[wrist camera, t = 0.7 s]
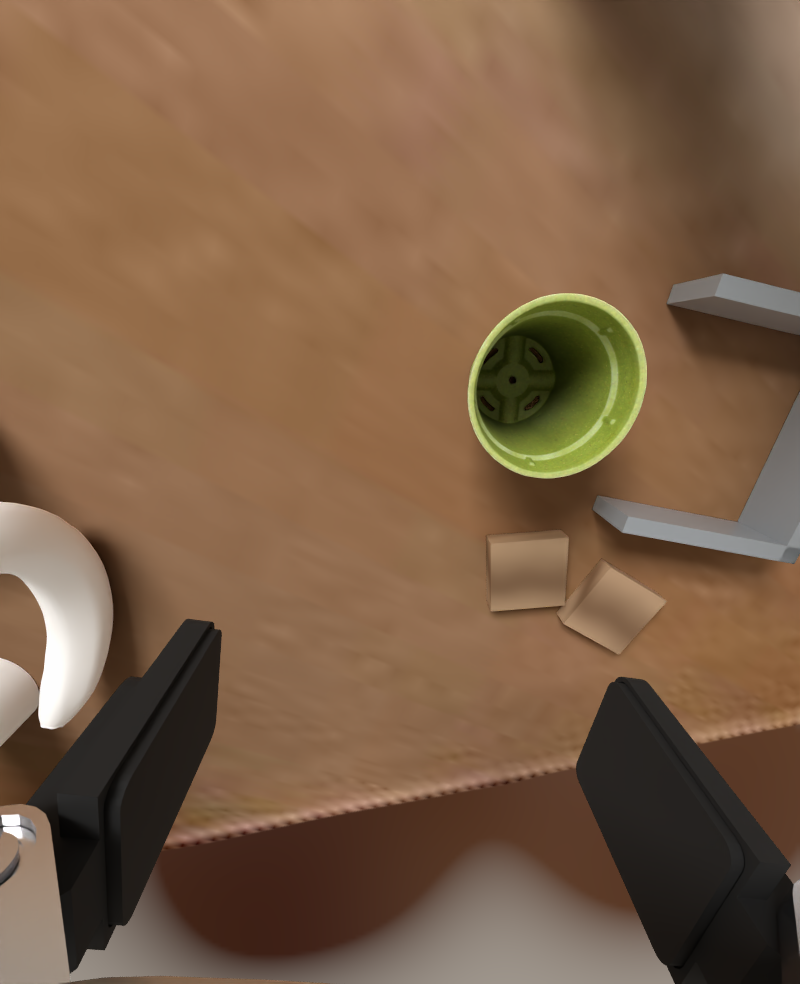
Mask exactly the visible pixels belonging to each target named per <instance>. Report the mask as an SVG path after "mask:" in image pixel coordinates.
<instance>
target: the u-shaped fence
mask: <svg viewBox="0 0 800 984" xmlns="http://www.w3.org/2000/svg"><path fill="white" fill-rule="evenodd" d="M667 304H669V305H674V306H678V307H682V308H686V309H690V310H695V311H699V312H703V313H707V314H712V315H716V316H720V317H724V318H728V319H733V320H737V321H741V322H745V323H749V324H754V325H758V326H762V327H766V328H770V329H775V330H779V331H783V332H787V333H792V334H796V335H800V292H796V291H792V290H788V289H784V288H780V287H776V286H772V285H768V284H764V283H760V282H756V281H752V280H748V279H744V278H740V277H735V276H731V275H727V274H719V275H714V276H710V277H706V278H701V279H697V280H692V281H688V282H684V283H679V284H675V285H673V287H672V290H671V293H670V296H669V299H668V301H667ZM592 510H594V511H595V512H596V513H598V514H599V515H600V516H601V517H603V518H604V519H605V520H607V521H608V522H609V523H610V524H612V525H613V526H614V527H616V528H617V529H618V530H620V531H621V532H622V533H628V534H633V535H639V536H644V537H650V538H655V539H661V540H666V541H672V542H677V543H682V544H688V545H693V546H699V547H704V548H710V549H715V550H721V551H726V552H732V553H737V554H743V555H748V556H753V557H759V558H764V559H770V560H775V561H781V562H786V563H792V564H794V563H795V562H796V560H797V558H798V556H799V554H800V392H799V394H798V396H797V398H796V400H795V402H794V404H793V406H792V408H791V410H790V413H789V415H788V417H787V419H786V421H785V423H784V425H783V427H782V429H781V431H780V434H779V436H778V438H777V440H776V442H775V444H774V446H773V448H772V450H771V453H770V455H769V457H768V459H767V461H766V463H765V465H764V467H763V469H762V471H761V474H760V476H759V478H758V480H757V482H756V484H755V486H754V488H753V490H752V492H751V495H750V497H749V499H748V501H747V503H746V505H745V507H744V509H743V511H742V514H741V516H740V518H739V520H738V522H735V521H730V520H725V519H719V518H714V517H709V516H704V515H698V514H693V513H688V512H683V511H677V510H672V509H667V508H662V507H656V506H651V505H646V504H641V503H635V502H630V501H625V500H620V499H614V498H609V497H604V496H599V495H597V498H596V501H595V503H594V506H593V509H592Z"/></svg>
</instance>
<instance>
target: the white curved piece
mask: <svg viewBox="0 0 800 984" xmlns="http://www.w3.org/2000/svg"><path fill="white" fill-rule="evenodd" d="M0 573H5V574H12V575H15V576H17V577H19V578H20V579H22V580H23V581H24V583H25V584H26V585H27V586H28V587H29V589H30V590H31V591H32V593H33V594H34V596H35V598H36V599H37V601H38V603H39V605H40V607H41V609H42V612H43V615H44V619H45V624H46V630H47V646H46V653H45V664H44V672H43V677H42V681H41V687H40V696H39V710H38V716H39V720H40V724H41V725H40V726H41V727H42V728H48V729H56V728H59V727H63V726H64V725H65V724H66V723H68V722H69V721H70V720H71V719H72V718H73V717H74V716H75V715H76V714H77V712H78V711H79V710H80V709H81V708H82V707H83V706H84V704H85V703H86V702H87V700H88V699H89V698H90V696H91V695H92V693H93V691H94V690H95V688H96V686H97V684H98V682H99V679H100V677H101V674H102V671H103V668H104V665H105V662H106V658H107V654H108V650H109V645H110V640H111V634H112V626H113V601H112V594H111V589H110V584H109V580H108V576H107V573H106V570H105V568H104V565H103V563H102V561H101V559H100V557H99V555H98V554H97V552H96V551H95V549H94V548H93V547H92V545H91V544H90V542H89V541H88V540H87V539H86V537H85V536H84V535H83V534H82V533H81V532H80V531H79V530H78V529H77V528H75V527H73V526H72V525H70V524H68V523H67V522H66V521H65V520H63V519H62V518H61V517H59V516H57V515H55V514H52V513H50V512H48V511H46V510H42V509H39V508H36V507H32V506H27V505H23V504H18V503H10V502H0Z"/></svg>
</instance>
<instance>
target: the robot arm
mask: <svg viewBox="0 0 800 984" xmlns="http://www.w3.org/2000/svg"><path fill="white" fill-rule="evenodd" d="M221 637H222V632H221V630H217V629H214V623H213V622H208V621H201V620H193V619H186V620H185V621H184V622H183V624H182V625H181V626H180V628H179V629H178V630H177V632H176V633H175V634H174V636H173V637H172V638H171V640H170V641H169V642H168V644H167V645H166V646H165V648H164V649H163V650H162V652H161V653H160V655H159V656H158V657H157V659H156V660H155V661H154V663H153V664H152V665H151V667H150V668H149V669H148V671H147V672H146V673H145V675H144V676H143V677H142V678H139V677H129V678H127V679H126V680H125V681H124V682H123V683H122V684H121V685H120V686H119V687H118V689H117V690H116V691H115V692H114V694H113V695H112V696H111V698H110V699H109V700H108V701H107V703H106V704H105V705H104V706H103V708H102V709H101V710H100V711H99V713H98V714H97V715H96V716H95V718H94V719H93V720H92V722H91V723H90V724H89V725H88V727H87V728H86V729H85V730H84V732H83V733H82V734H81V735H80V737H79V738H78V739H77V741H76V742H75V743H74V744H73V746H72V747H71V748H70V749H69V751H68V752H67V753H66V754H65V756H64V757H63V758H62V759H61V761H60V762H59V763H58V765H57V766H56V767H55V768H54V770H53V771H52V772H51V773H50V775H49V776H48V777H47V778H46V780H45V781H44V782H43V784H42V785H41V786H40V787H39V789H38V790H37V791H36V792H35V794H34V795H33V796H32V797H31V799H30V800H29V801H28V802H27V804H26V805H24V804H17V805H8V806H2V807H0V984H328V983H310V982H293V981H277V980H257V979H256V980H255V979H229V978H228V979H227V978H200V977H172V976H147V977H146V976H145V977H111V978H110V977H109V978H99V979H90V980H83V981H76V982H71V980H70V973H71V972H73V971H74V970H75V969H77V968H78V966H79V964H80V962H81V960H82V958H83V956H84V954H85V952H86V950H87V949H95V950H105V948H106V946H107V944H108V942H109V940H110V938H111V935H112V933H113V931H114V929H115V927H116V925H122V926H124V925H126V924H127V923H128V921H129V920H130V918H131V916H132V914H133V912H134V910H135V908H136V905H137V903H138V901H139V899H140V897H141V894H142V892H143V890H144V888H145V885H146V883H147V881H148V879H149V877H150V874H151V872H152V870H153V867H154V865H155V863H156V861H157V858H158V856H159V854H160V852H161V850H162V848H163V845H164V843H165V841H166V839H167V836H168V834H169V832H170V830H171V827H172V825H173V823H174V821H175V819H176V816H177V814H178V812H179V810H180V807H181V805H182V803H183V801H184V799H185V796H186V794H187V792H188V790H189V787H190V785H191V783H192V781H193V778H194V776H195V774H196V772H197V770H198V767H199V765H200V763H201V761H202V758H203V756H204V754H205V752H206V749H207V747H208V745H209V743H210V741H211V738H212V735H213V732H214V729H215V724H216V713H217V698H218V683H219V667H220V652H221ZM576 772H577V777H578V780H579V783H580V785H581V787H582V790H583V792H584V794H585V796H586V799H587V801H588V803H589V805H590V808H591V810H592V812H593V814H594V817H595V819H596V821H597V823H598V826H599V828H600V829H601V832H602V834H603V837H604V839H605V841H606V843H607V846H608V848H609V850H610V852H611V855H612V857H613V859H614V861H615V864H616V866H617V868H618V870H619V873H620V875H621V877H622V879H623V882H624V884H625V886H626V888H627V891H628V893H629V895H630V897H631V900H632V902H633V904H634V906H635V908H636V911H637V913H638V915H639V917H640V920H641V922H642V924H643V926H644V929H645V931H646V933H647V935H648V938H649V940H650V942H651V945H652V947H653V949H654V951H655V953H656V955H657V957H658V958H659V960H660V961H661V962H662V963H663V964H665V965H667V967H668V970H669V972H670V974H671V976H672V978H673V981H674V983H675V984H800V879H799V880H798V881H797V882H796V883H794V884H793V883H792V882H791V880H790V879H789V878H788V876H787V875H786V874H785V873H786V872H787V870H788V869H789V867H790V866H791V864H790V863H789V862H788V861H787V859H786V858H785V857H784V855H783V854H782V853H781V852H780V850H779V849H778V848H777V847H776V845H775V844H774V843H773V841H772V840H771V839H770V838H769V836H768V835H767V834H766V833H765V831H764V830H763V829H762V828H761V826H760V825H759V824H758V822H757V821H756V820H755V818H754V817H753V816H752V815H751V813H750V812H749V811H748V810H747V808H746V807H745V806H744V804H743V803H742V802H741V801H740V799H739V798H738V797H737V796H736V794H735V793H734V792H733V791H732V789H731V788H730V787H729V785H728V784H727V783H726V782H725V780H724V779H723V778H722V776H721V775H720V774H719V773H718V771H717V770H716V769H715V768H714V766H713V765H712V764H711V762H710V761H709V760H708V759H707V757H706V756H705V755H704V753H703V752H702V751H701V750H700V748H699V747H698V746H697V745H696V743H695V742H694V741H693V739H692V738H691V737H690V736H689V734H688V733H687V732H686V731H685V729H684V728H683V727H682V725H681V724H680V723H679V722H678V720H677V719H676V718H675V717H674V715H673V714H672V713H671V711H670V710H669V709H668V708H667V706H666V705H665V704H664V702H663V701H662V700H661V699H660V697H659V696H658V695H657V694H656V692H655V691H654V690H653V688H652V687H651V686H650V685H649V684H648V683H647V682H646V681H644V680H642V679H634V678H627V677H618V678H617V679H616V680H615V682H612V683H610V684H609V686H608V688H607V691H606V693H605V695H604V698H603V700H602V703H601V705H600V708H599V710H598V712H597V715H596V717H595V720H594V722H593V725H592V727H591V730H590V732H589V734H588V737H587V739H586V742H585V744H584V747H583V749H582V751H581V754H580V756H579V759H578V761H577V765H576Z"/></svg>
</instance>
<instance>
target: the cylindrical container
mask: <svg viewBox="0 0 800 984" xmlns="http://www.w3.org/2000/svg"><path fill="white" fill-rule="evenodd" d="M38 704H39V690H38V687H37V685H36V683H35V681H34V679H33V678H32V677H31V676H30V675H29V674H28V673H27V672H26V671H25V670H24V669H23V668H21V667H20V666H18V665H17V664H15V663H13V662H10V661H8V660H5V659H2V658H0V746H1V745H2V744H3V743H4V742H5V741H6V740H7V739H8V738H9V737H10V736H11V735H12V734H13V733H14V732H15V731H16V730H17V729H18V728H19V727H20V726H21V725H22V724H23V723H24V722H25V721H26V720H27V719H28V718H29V717H30V716H31V714H32V713H33V712H34V711H35V710H36V708H37V707H38Z"/></svg>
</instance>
